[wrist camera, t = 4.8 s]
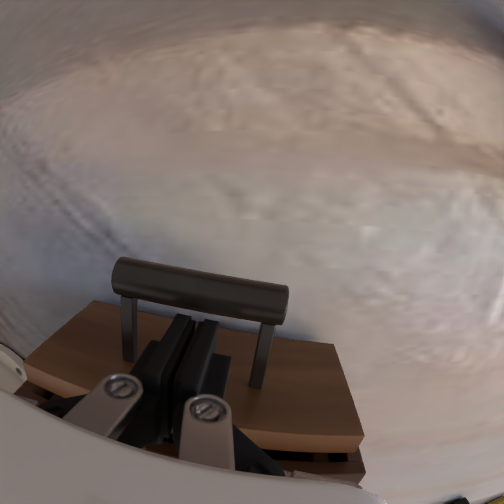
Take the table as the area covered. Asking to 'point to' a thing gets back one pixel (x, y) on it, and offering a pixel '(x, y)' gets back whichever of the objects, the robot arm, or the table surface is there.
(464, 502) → the flashlight
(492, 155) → the table surface
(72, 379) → the drawer
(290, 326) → the table surface
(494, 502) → the yellow shallow tray
